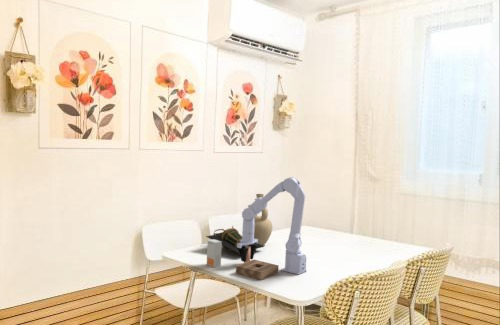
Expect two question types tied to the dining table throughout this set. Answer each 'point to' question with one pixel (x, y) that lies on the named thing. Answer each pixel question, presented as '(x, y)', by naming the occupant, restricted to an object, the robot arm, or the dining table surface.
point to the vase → (262, 226)
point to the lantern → (229, 239)
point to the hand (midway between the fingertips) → (247, 260)
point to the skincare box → (214, 253)
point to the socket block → (257, 269)
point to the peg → (248, 254)
